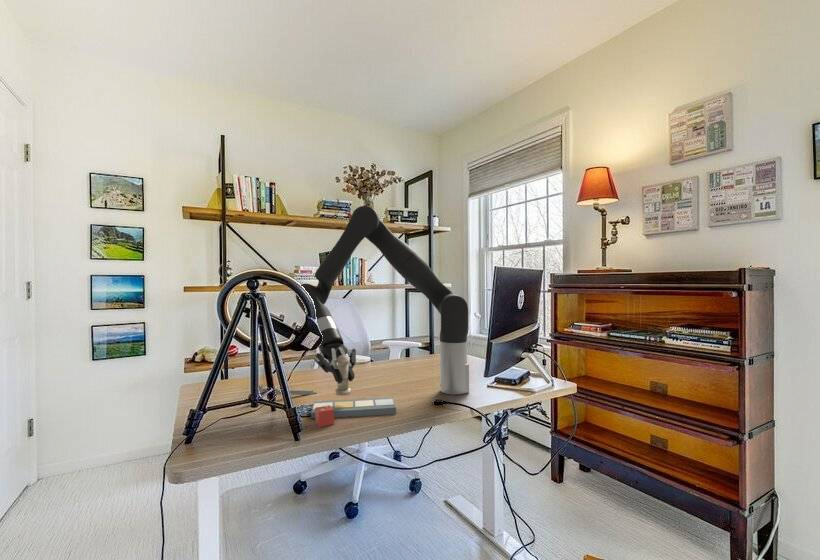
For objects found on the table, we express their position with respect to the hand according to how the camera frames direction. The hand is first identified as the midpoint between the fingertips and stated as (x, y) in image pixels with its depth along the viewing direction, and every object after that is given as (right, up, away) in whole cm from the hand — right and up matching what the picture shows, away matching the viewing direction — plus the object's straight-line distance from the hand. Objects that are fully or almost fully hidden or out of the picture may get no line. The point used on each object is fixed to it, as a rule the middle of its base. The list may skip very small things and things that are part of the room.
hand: (346, 380), depth 117 cm
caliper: (-22, -10, +15) cm, 29 cm away
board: (+2, -9, +2) cm, 10 cm away
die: (-5, -10, -8) cm, 13 cm away
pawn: (-1, -4, +2) cm, 5 cm away
